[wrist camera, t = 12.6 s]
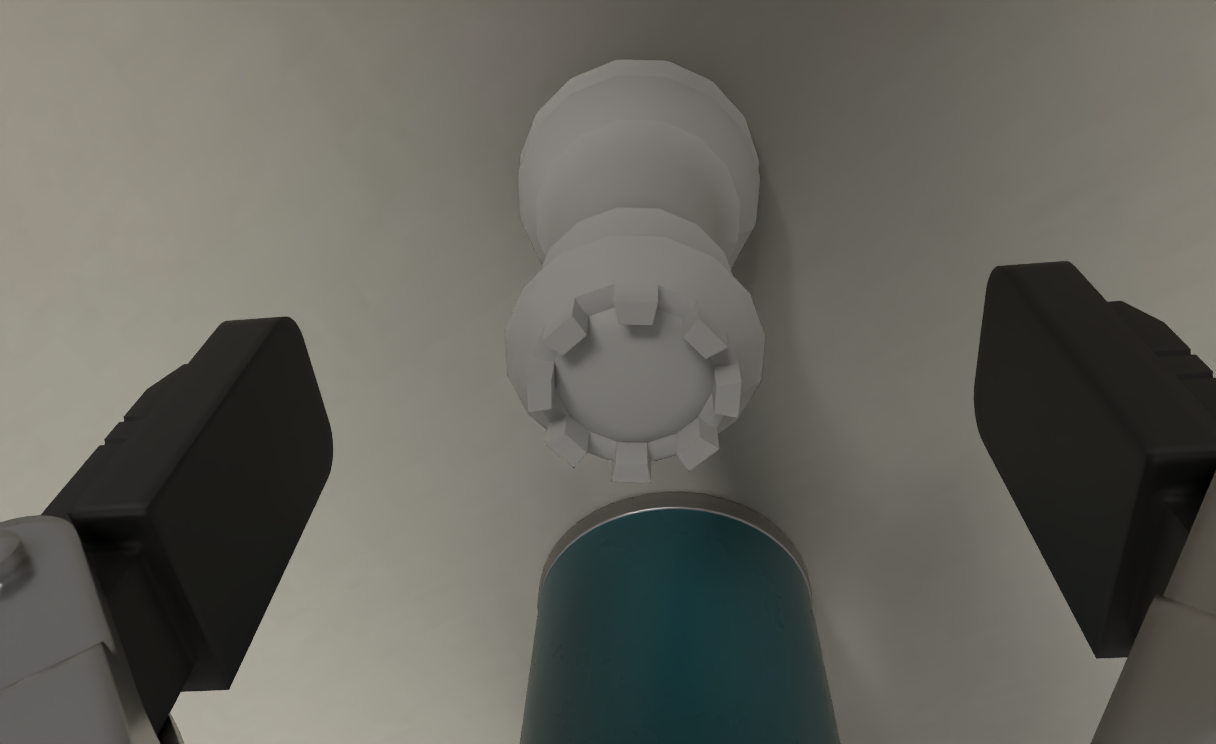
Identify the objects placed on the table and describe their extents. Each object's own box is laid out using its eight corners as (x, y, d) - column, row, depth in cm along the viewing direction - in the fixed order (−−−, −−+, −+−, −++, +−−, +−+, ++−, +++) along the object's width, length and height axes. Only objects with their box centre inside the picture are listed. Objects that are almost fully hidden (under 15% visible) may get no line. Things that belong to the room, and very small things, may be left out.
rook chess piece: (787, 81, 17) (884, 264, 10) (721, 299, 19) (762, 571, 12) (542, 26, 16) (467, 176, 10) (505, 255, 19) (422, 509, 12)
